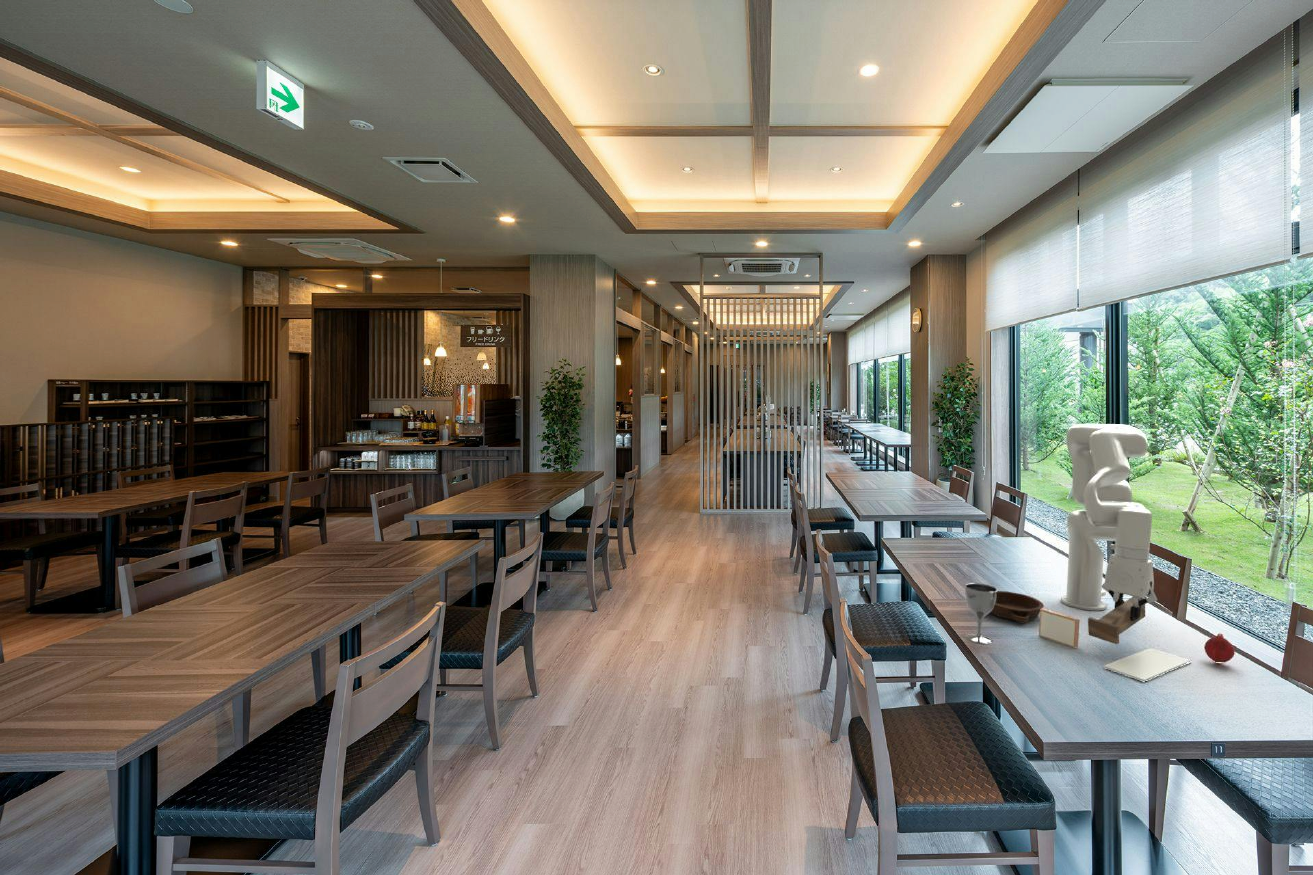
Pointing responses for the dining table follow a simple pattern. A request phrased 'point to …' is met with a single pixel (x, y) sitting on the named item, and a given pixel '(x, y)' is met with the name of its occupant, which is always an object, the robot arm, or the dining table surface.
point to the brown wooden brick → (1113, 622)
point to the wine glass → (980, 607)
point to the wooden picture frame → (1059, 627)
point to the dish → (1016, 606)
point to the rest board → (1146, 664)
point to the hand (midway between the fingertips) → (1126, 616)
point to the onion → (1219, 649)
